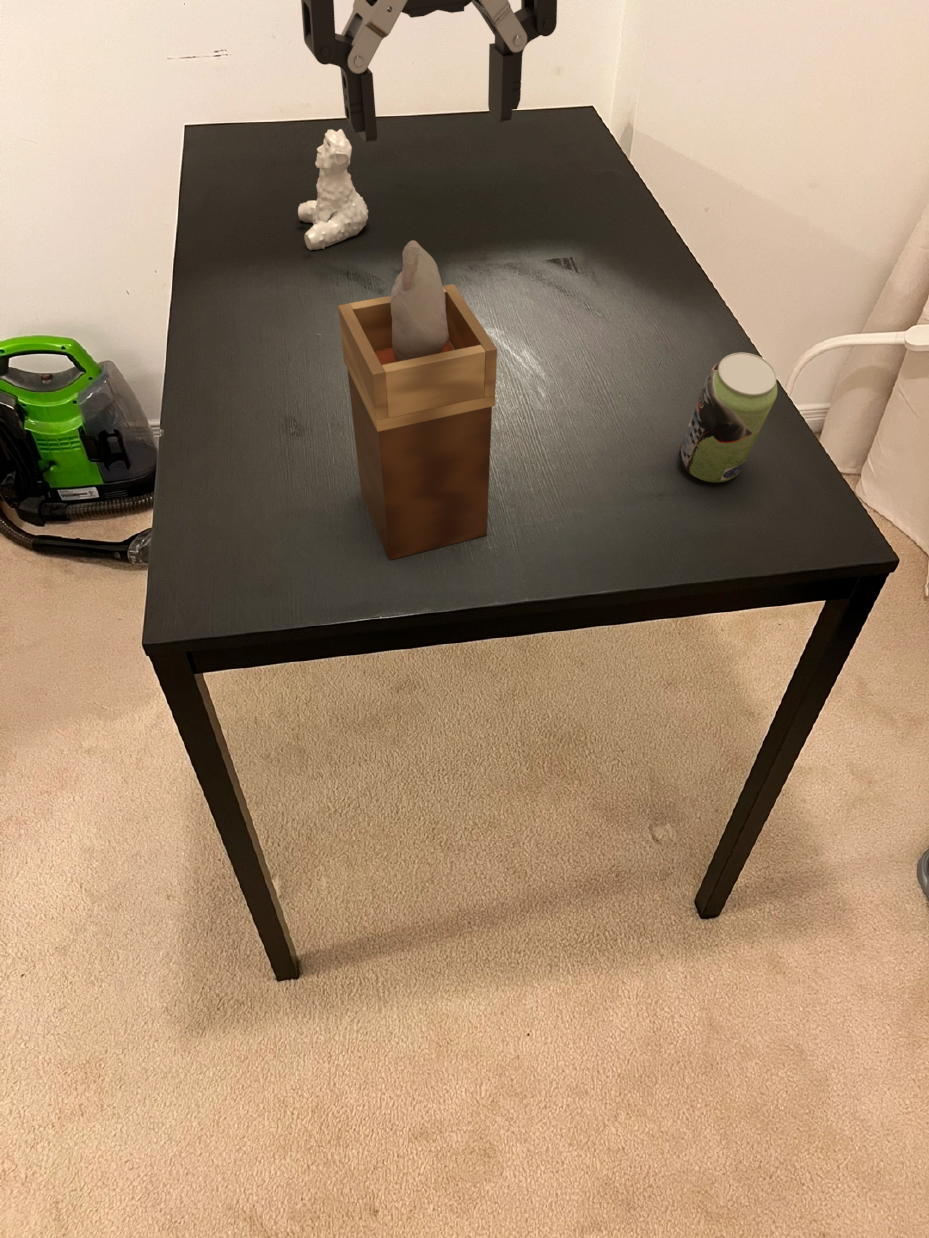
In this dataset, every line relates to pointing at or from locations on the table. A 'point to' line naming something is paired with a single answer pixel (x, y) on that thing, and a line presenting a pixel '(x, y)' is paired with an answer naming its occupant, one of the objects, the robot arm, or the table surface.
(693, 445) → the beverage can
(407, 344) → the fossil
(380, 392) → the open wooden box
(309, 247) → the white creature statuette
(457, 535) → the plinth
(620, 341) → the table surface
